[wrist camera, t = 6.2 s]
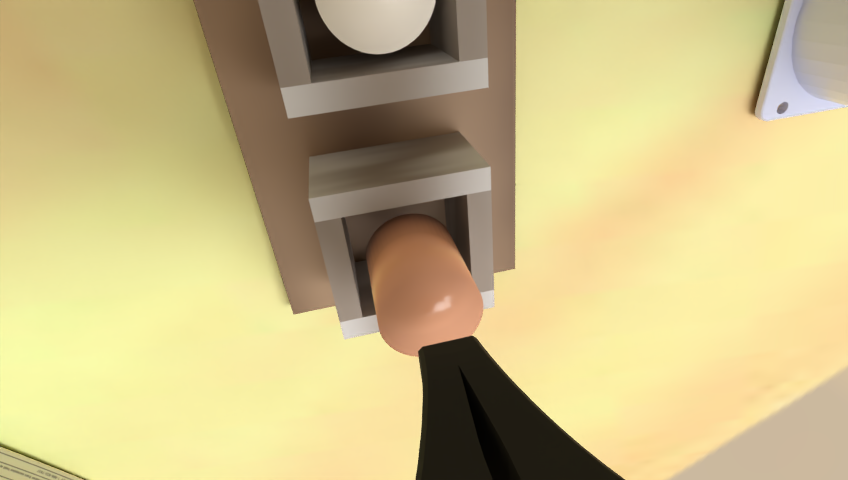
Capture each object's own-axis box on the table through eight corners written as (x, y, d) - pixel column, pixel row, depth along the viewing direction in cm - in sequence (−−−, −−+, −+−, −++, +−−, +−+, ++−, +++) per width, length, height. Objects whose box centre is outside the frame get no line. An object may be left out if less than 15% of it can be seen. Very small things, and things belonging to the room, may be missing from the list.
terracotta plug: (449, 205, 15) (481, 261, 12) (455, 279, 17) (484, 343, 14) (358, 222, 15) (369, 284, 12) (373, 296, 16) (386, 366, 14)
